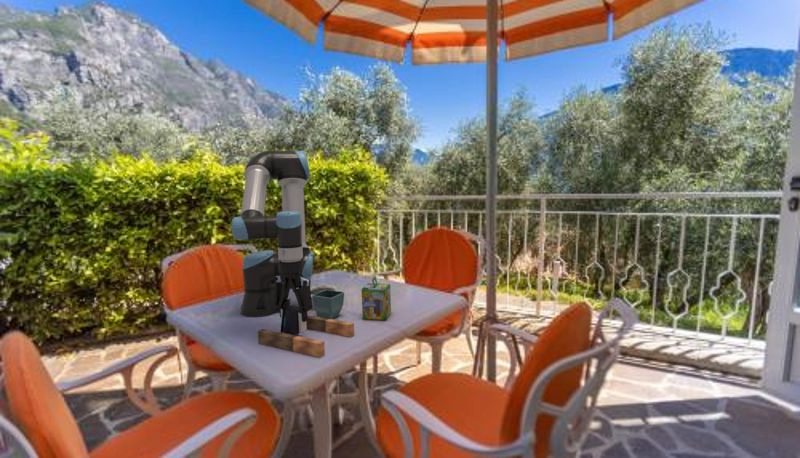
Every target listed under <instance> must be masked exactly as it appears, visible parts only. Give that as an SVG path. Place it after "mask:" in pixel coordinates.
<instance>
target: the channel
mask: <svg viewBox="0 0 800 458" xmlns="http://www.w3.org/2000/svg"><path fill="white" fill-rule="evenodd" d="M306 326H307V330H311V331H315V332H316V331H317V332H323V333H327V334H333V335H337V336H343V337H349V338H352V337H353V336H355V323H354V322H348V321H342V320H338V319H333V318H332V319H326V318H321V317H319V316H314V315H309V314H308V320H307V321H306ZM280 332H281V331H275V330H270V329H265V328H262V329H259V330H258V331H257V337H258V344H260V345H264V346H269V347H274V348H278V349H281V350H285V351H291V352H295V353H298V354H299V353H300V354H303V355H304V354H305V355H308V356H311V357H312V356H313V357H317V358H322V357H324V356H325V355H326V354H325V353H326V352H325V351H326V350H325V349H326V348H325V341H323V340H319V339H314V338H308V337H304V336H299V335H290V334H285V333H284V332H283V333H280Z"/></svg>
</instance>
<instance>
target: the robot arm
mask: <svg viewBox="0 0 800 458" xmlns="http://www.w3.org/2000/svg"><path fill="white" fill-rule="evenodd" d="M309 166H310V165H309V161H308V156H307V154H306V152H305V151H303V150H295V149H293V150H263V151H261V152H259V153H257V154H255V155H254V156H253V157H252V158H251V159H250V160H249V161H248V162H247V164H246V165H245V168H244V173H243V177H244V179H245V183H244V192H243V197H242V203H241V210H240V216H235V217H233V218H232V220H231V233H232V236H233V238H234V239H236V240H247V241H248V240H262V239H277V253H275V252H274V250H272V249H270V250H268V249H265V250H260V251H253V252H251V253H248V254H246V255H244V257H243V258H242V276H243V290H244V294H243V297H242V303H241V306H240V314H241V315H242V316H245V317H253V318H254V317H264V316H266V317H267V316H270V315H273V314H276V313H278V312H279V318H280V320H281V321H280V322H282V312H283V303H285V302H286V301H287V300H288V299H289V294H290V291H291V290H292V292H293V293H294V294H295V298H296V301H297V304H298V305H297V306H299V308H300V312H298V315H299V332H300V333H303V332H304V331H306V330H308V329H307V326H306V321H307V320H308V315H309V314H308V312H309V311H310V310H312V309H313V308H314V305H313V298H312V292H311V283H312V281H311V279H312V274H313V265H314V255H315V254H314V251H311V249H310V248H311V247H310V246H308V245H307V243H306V242H307V241H306V240H307V239H306V220H305V218H306V217H305V216H306V215H305V196H304V194H305V193H304V187H305V186H306V185H307V184H308V180H310V179H311V173H310V167H309ZM270 180H277V184H278V185H279V186H280V187H281V205H282V206H281V207H282V208H281V209H282V211H279V212H277V213H276V215H265V211H266V210H265V209H266V207H265V206H266V195H267V184H268V182H269V181H270Z"/></svg>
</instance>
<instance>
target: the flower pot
mask: <svg viewBox="0 0 800 458" xmlns="http://www.w3.org/2000/svg"><path fill="white" fill-rule="evenodd" d="M311 298H312V305H313V308H314V311H315V313H316V314H317V315H318V316H317V317H321V318H326V319H332V320H333V319H334V318H336V317H338V316H339V314H340V312H341V311H342V309H343V305H344V299H345V291H340V290H332V289H324V290H320V291H319V292H317V293H314V294H313V295H312V294H311Z"/></svg>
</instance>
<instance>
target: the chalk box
mask: <svg viewBox="0 0 800 458" xmlns="http://www.w3.org/2000/svg"><path fill="white" fill-rule="evenodd" d="M371 280H372V282H370V283H367V284H366V285H364V286H363V287H362V288H361V304H362V306H361V307H362V311H361V312H362V320H372V321H373V320H375V321H387V320H388V318H389V317H390V316H391V313H392V306H391V305H392V303H391V300H392V299H391V284H389V283H379V282H378V281H377V277H376V275H375V276H373V277H372V279H371Z"/></svg>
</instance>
